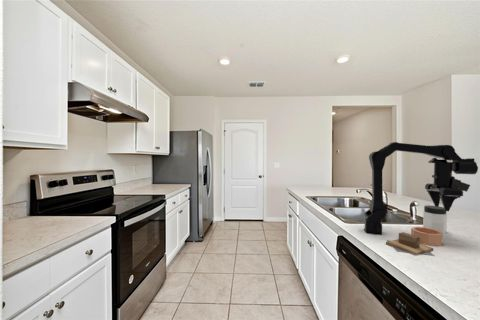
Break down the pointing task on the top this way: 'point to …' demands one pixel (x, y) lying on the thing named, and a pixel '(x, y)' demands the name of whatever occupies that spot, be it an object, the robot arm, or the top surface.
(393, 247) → the mat
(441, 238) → the bowl
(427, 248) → the ridged wooden block
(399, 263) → the top surface
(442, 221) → the jar
